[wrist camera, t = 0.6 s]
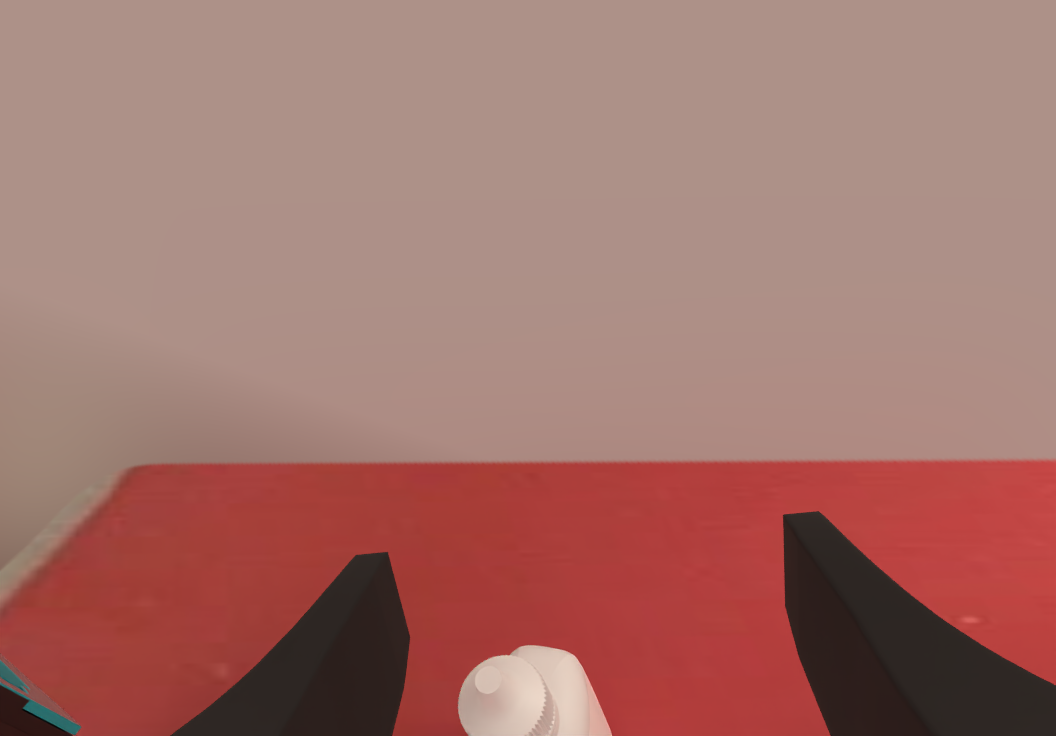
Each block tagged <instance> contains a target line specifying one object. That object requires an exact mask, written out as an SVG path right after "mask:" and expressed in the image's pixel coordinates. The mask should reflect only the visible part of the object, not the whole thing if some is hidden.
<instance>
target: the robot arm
mask: <svg viewBox="0 0 1056 736" xmlns="http://www.w3.org/2000/svg"><path fill="white" fill-rule="evenodd" d="M783 527H784V572H785V607H786V610H787V614H788V618H789V622H790V626H791V630H792V633H793V637H794V641H795V644H796V648H797V651H798V655H799V658H800V661H801V663H802V666H803V668H804V671H805V673H806V676H807V678H808V681H809V683H810V686H811V688H812V691H813V693H814V696H815V698H816V701H817V703H818V706H819V708H820V711H821V713H822V715H823V718H824V720H825V723H826V725H827V728H828V730H829V733H830V735H831V736H1056V685H1054V684H1052V683H1050V682H1048V681H1046V680H1044V679H1042V678H1040V677H1038V676H1036V675H1034V674H1032V673H1030V672H1028V671H1027V670H1025V669H1023V668H1021V667H1019V666H1017V665H1016V664H1014V663H1012V662H1010V661H1008V660H1006V659H1005V658H1003V657H1001V656H999V655H998V654H996V653H994V652H993V651H991V650H989V649H988V648H986V647H984V646H983V645H981V644H979V643H978V642H976V641H975V640H973V639H972V638H970V637H969V636H967V635H966V634H964V633H962V632H961V631H959V630H958V629H956V628H955V627H953V626H952V625H950V624H949V623H947V622H946V621H944V620H943V619H942V618H940V617H939V616H937V615H936V614H935V613H933V612H932V611H931V610H929V609H928V608H927V607H926V606H924V605H923V604H922V603H920V602H919V601H918V600H916V599H915V598H914V597H913V596H911V595H910V594H909V593H908V592H907V591H905V590H904V589H903V588H902V587H900V586H899V585H898V584H897V583H896V582H895V581H893V580H892V579H891V578H890V577H889V576H888V575H887V574H885V573H884V572H883V571H882V570H881V569H880V568H878V567H877V566H876V565H875V564H874V563H873V562H872V561H871V560H869V559H868V558H867V557H866V556H865V555H864V554H863V553H862V552H861V551H860V550H859V549H858V548H857V547H856V546H854V545H853V544H852V543H851V542H850V541H849V540H848V539H847V538H846V537H845V536H844V535H843V534H842V533H841V532H840V531H839V530H838V529H837V528H836V527H835V526H834V525H833V524H832V523H831V522H830V521H829V520H828V519H827V518H826V517H825V516H824V515H822V514H821V513H820V512H819V511H817V512H807V513H796V514H785V515H783ZM409 642H410V635H409V631H408V628H407V624H406V620H405V616H404V612H403V609H402V605H401V601H400V597H399V593H398V590H397V586H396V582H395V578H394V574H393V571H392V567H391V563H390V559H389V555H388V552H383V553H373V554H362V555H356V556H355V557H354V558H353V559H352V560H351V561H350V562H349V563H348V565H347V566H346V567H345V568H344V569H343V570H342V572H341V573H340V574H339V575H338V576H337V577H336V579H335V580H334V581H333V582H332V583H331V584H330V586H329V587H328V588H327V589H326V590H325V591H324V593H323V594H322V595H321V596H320V597H319V598H318V600H317V601H316V602H315V603H314V604H313V605H312V607H311V608H310V609H309V610H308V611H307V612H306V613H305V614H304V616H303V617H302V618H301V619H300V620H299V621H298V622H297V623H296V625H295V626H294V627H293V628H292V629H291V630H290V631H289V632H288V633H287V634H286V635H285V636H284V637H283V638H282V639H281V640H280V641H279V642H278V643H277V644H276V645H275V646H274V647H273V649H272V650H271V651H270V652H269V653H268V654H267V655H266V656H265V657H264V658H263V659H262V660H261V661H260V662H259V663H258V664H257V665H256V666H255V667H254V668H253V669H252V670H250V671H249V672H248V673H247V674H246V675H245V676H244V677H243V678H242V679H241V680H240V681H239V682H237V683H236V684H235V685H234V686H233V687H232V688H230V689H229V690H228V691H227V692H226V693H225V694H223V695H222V696H221V697H220V698H219V699H218V700H216V701H215V702H214V703H213V704H212V705H210V706H209V707H208V708H207V709H205V710H204V711H203V712H201V713H200V714H199V715H197V716H196V717H195V718H193V719H192V720H191V721H189V722H188V723H187V724H185V725H184V726H183V727H181V728H180V729H179V730H177V731H176V732H175V733H173V734H172V735H171V736H392V733H393V729H394V726H395V722H396V718H397V714H398V710H399V706H400V702H401V698H402V694H403V689H404V683H405V676H406V668H407V660H408V651H409Z"/></svg>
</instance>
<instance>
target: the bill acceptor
mask: <svg viewBox="0 0 1056 736" xmlns="http://www.w3.org/2000/svg"><path fill="white" fill-rule="evenodd" d="M80 729H81V725H80V724H79V723H77V722H76V721H75V720H74V719H73V718H72V717H71V716H70V715H69V714H67V713H66V712H65V711H64V710H63V709H62V708H61V707H60V706H58V705H57V704H56V703H55V702H54V701H53V700H52V699H51V698H50V697H48V696H47V695H46V694H45V693H44V692H43V691H42V690H41V689H39V688H38V687H37V686H36V685H35V684H34V683H33V682H32V681H30V680H29V679H28V678H27V677H26V676H25V675H24V674H23V673H22V672H20V671H19V670H18V669H17V668H16V667H15V666H14V665H13V664H11V663H10V662H9V661H8V660H7V659H6V658H5V657H4V656H3V655H1V654H0V736H73V735H76V734H77V732H78V731H79V730H80ZM72 734H73V735H72Z"/></svg>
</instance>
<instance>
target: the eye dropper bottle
mask: <svg viewBox="0 0 1056 736" xmlns="http://www.w3.org/2000/svg"><path fill="white" fill-rule="evenodd" d="M464 681H465V682H464V683H463V684H462V686H463V687H462V688H461V692H460V693H459V695H460V696H459V698H458V699H459V701H458V705H459V706H458V709H459V712H458V714H459V715H460V716H459V718H460V719H461V723H462V727H463V728H464V729H465V731H466V733H467V734H468V735H469V736H612V733H611V730H610V728H609V725H608V723H607V721H606V718H605V716H604V714H603V711H602V709H601V707H600V704H599V702H598V700H597V697H596V695H595V693H594V691H593V688H592V686H591V684H590V682H589V679H588V677H587V675H586V673H585V671H584V669H583V667H582V665H581V664H580V662H579V661H578V660H577V658H576V657H575V656H574V655H573V654H571V653H569V652H567V651H564V650H560V649H556V648H550V647H543V646H534V645H526V646H521V647H519V648H517V649H516V650H514V651H513V652H512V653H511V654H510V655H509V656H508V655H505V656H503V655H501V656H496V657H492V658H489V659H488V660H485V661H484V662H481V663H480V665H477V666H476V668H474V669H473V671H471V672H470V674H469V675H468V676H467V678H466V679H465V680H464Z"/></svg>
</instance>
